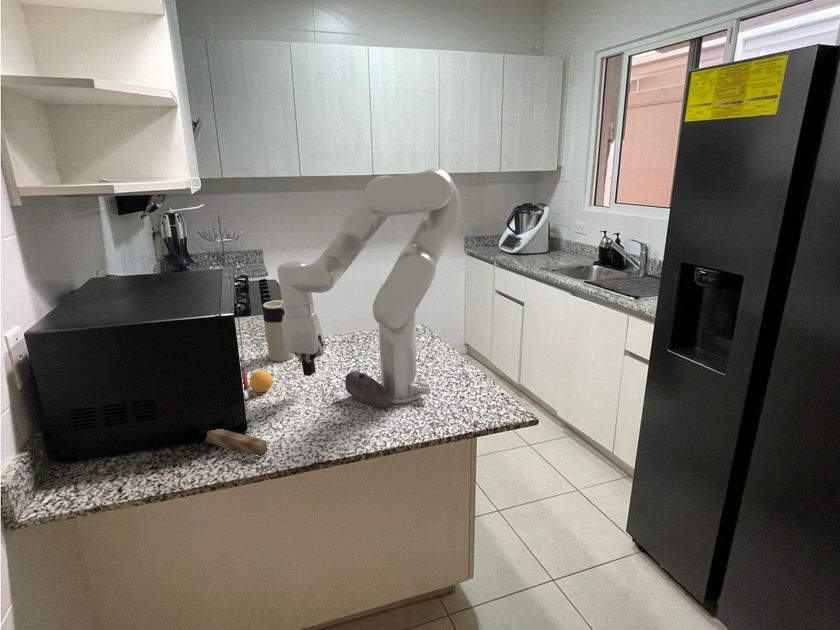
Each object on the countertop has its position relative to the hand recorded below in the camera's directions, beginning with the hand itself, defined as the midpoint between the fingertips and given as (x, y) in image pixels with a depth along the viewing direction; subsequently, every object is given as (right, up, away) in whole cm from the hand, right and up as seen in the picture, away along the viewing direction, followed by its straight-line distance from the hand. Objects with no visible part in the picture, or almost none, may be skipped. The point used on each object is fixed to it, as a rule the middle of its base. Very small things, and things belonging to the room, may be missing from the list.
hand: (309, 373), depth 131 cm
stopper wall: (-12, -14, -22) cm, 29 cm away
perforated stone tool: (+17, -7, -4) cm, 18 cm away
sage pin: (-13, -9, -11) cm, 19 cm away
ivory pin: (-17, -5, -1) cm, 18 cm away
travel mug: (-15, +2, +25) cm, 29 cm away
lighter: (-22, -5, +5) cm, 23 cm away
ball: (-14, -2, +2) cm, 14 cm away
